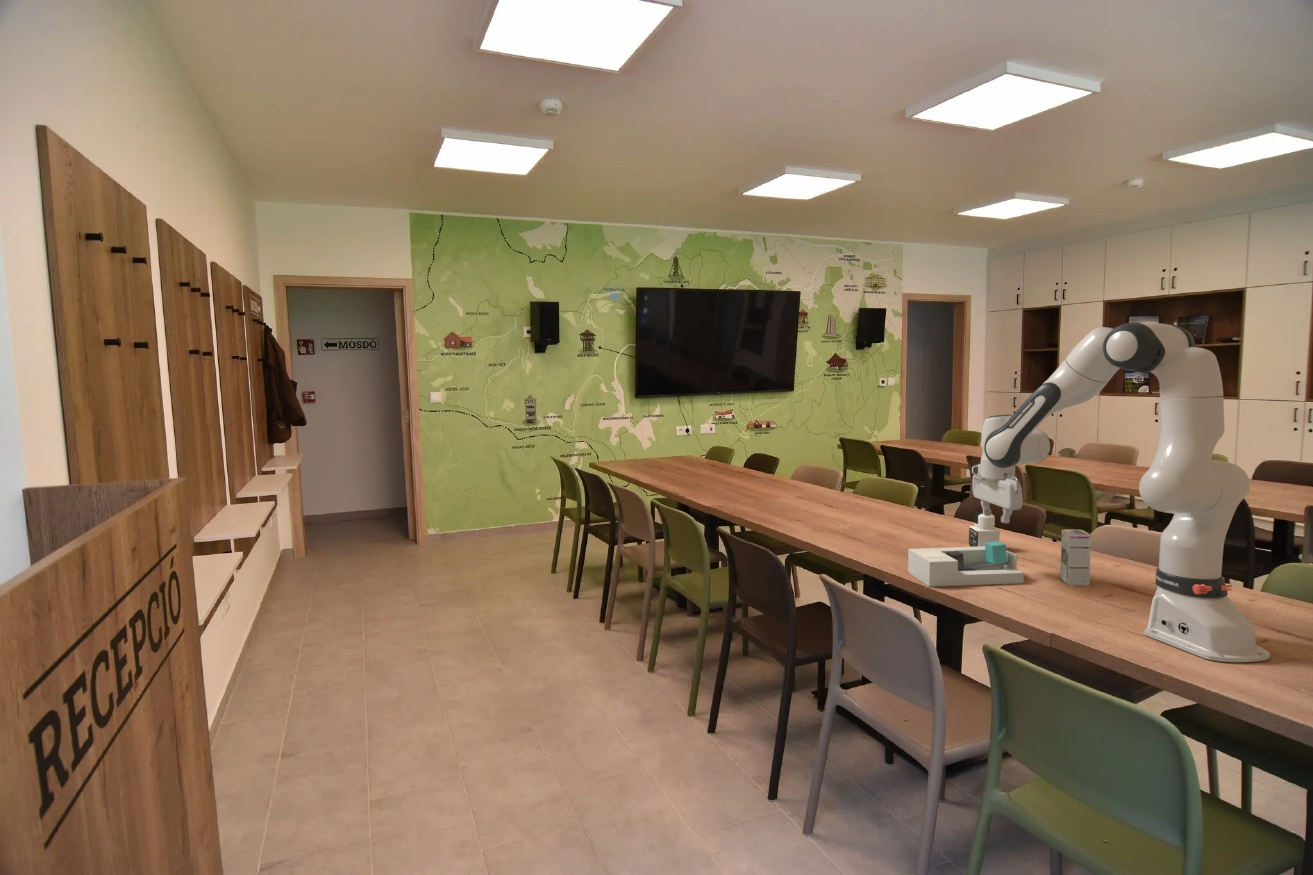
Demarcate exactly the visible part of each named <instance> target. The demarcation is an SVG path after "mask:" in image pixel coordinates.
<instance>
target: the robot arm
mask: <svg viewBox="0 0 1313 875" xmlns="http://www.w3.org/2000/svg"><path fill="white" fill-rule="evenodd" d="M1195 344H1196V343H1195V338H1194V337H1193V335H1192V334H1191V333H1190V331H1188V330H1187V329H1185V328H1184V327H1182V326H1179V325H1176V324H1171V323H1168V324H1167V323H1159V322H1157V321H1140V322H1137V321H1136V322H1135V321H1134V322H1127V323H1123V324H1120V325H1118V326H1116V327H1114V328H1112V327H1107V326H1106V327H1105V326H1104V327H1103V326H1099V327H1096V328H1094V329H1092V330H1090V332H1088V333H1087V334H1086V335H1085V336H1084V337H1083V338H1082V339H1081V340H1080V341H1079V342H1078V343H1077V344H1076V345H1075V346H1074V347H1073V348H1072V350H1071V351H1069V353H1068V355H1066V357H1065V358H1064V360H1063V361H1062V362H1061V363H1060V364H1059V366H1058V367H1057V368H1056V369H1055V371H1053V373H1052V374H1051V375H1050V376H1049V378H1047V380H1045V381H1044V382H1043V383H1042V384H1041V385H1040V386H1039V387H1038V388H1036V390H1035V391H1033V392H1032V393H1031V394H1030V395H1029V397H1028V398H1026V400H1025V401H1023V403H1022V404H1021V405H1020V406H1019V408H1017V410H1016V411H1015V412H1014V413H1013V414H1001V415H1000V414H999V415H991V416H988V417H987V418H985V419H984V421H983V424H982V430H981V437H980V438H981V441H980V442H981V443H980V446H981V450H982V451H981V452H982V454H981V457H980V463H979V464H975V465H973V466H972V467H971V473H972V474H973V475H972V488H971V489H972V495H973V497H974V498H976V499H978V500H980V505H981V507H982V513H983V515H985V516H991V514H992V512H993V511H992V509H991V507H990V504H992V505H995V506H998V507H1000V508H1002V513H1003V514H1002V515H1001V516H1000V522H1001V523H1003V524H1009V523H1011V519H1010V518H1011V517H1012V515H1013V511H1018V510H1021V509H1022V507H1023V488H1022V485H1021V483H1020V481H1019V479H1018V478H1017V476H1016V474H1015V473H1016V466H1022V465H1029V464H1037V463H1039V462H1042V461H1044V460H1045V459H1047V458H1048V456H1049V454H1050V451H1051V447H1052V446H1051V440H1050V438H1049V436H1048V434H1047V433H1045V431H1043V430H1041V429H1039V428H1038V426H1039V425H1041V424H1042V422H1044V420H1045V419H1046V418H1048V417H1049V416H1051V415H1053V414H1054V413H1056V412H1059V411H1061V410H1064V409H1067V408H1071V407H1073V406H1076V405H1080V404H1083V403H1086V402H1089V401H1090V400H1091V399H1093V398H1094V397H1095V396H1096V395H1098V394H1099V393H1100V392H1101V391H1102V390H1103V389H1104V388H1105V387H1106V385H1107V384H1108V383H1109V382H1110V380H1111V379H1112V378H1113V376H1115V374H1116V373H1117V372H1118V371H1119V370H1120V369H1122V370H1125V371H1131V372H1136V373H1141V374H1148V373H1151V374H1153V375H1154V376H1155V377H1156V378H1157V380H1158V384H1159V403H1160V404H1159V408H1160V410H1159V411H1160V415H1159V416H1160V434H1159V440H1158V445H1157V448H1156V452H1155V454H1154V458H1153V461H1152V463H1151V465H1150V467H1149V468H1148V469H1147V471H1145V473H1144V474H1143V475H1142V477H1140V478H1141V479H1140V481H1139V483H1138V490H1139V491H1138V493H1139V494H1140V497H1141V500H1142V501H1143V502H1144V503H1145V505H1147V507H1148V508H1150V509H1152V510H1155V511H1157V512H1160V513H1161V512H1162V513H1166V514H1167V513H1168V514H1173V517H1172V518H1171V520H1170V522H1169V524H1168V525H1167V526H1166V528H1165V529H1163V531H1162V533H1161V535H1160V538H1159V540H1160V542H1159V554H1158V556H1159V558H1158V560H1159V561H1158V567H1157V568H1156V569H1155V570H1156V571H1155V574H1154V575H1155V576H1154V577H1155V583H1154V584H1156V591H1155V593H1154V596H1153V597H1152V601H1151V605H1150V613H1149V616H1148V621H1147V625H1146V627H1145V628H1144V629H1143V634H1144V635H1145V636H1146V637H1149V638H1151V639H1154V640H1157V641H1160V642H1162V643H1164V644H1167V645H1170V646H1172V647H1175V648H1177V649H1180V650H1183V651H1185V652H1187V653H1189V654H1192V655H1195V656H1198V657H1200V658H1202V659H1206V660H1208V661H1209V660H1210V661H1213V662H1214V661H1216V662H1224V663H1255V662H1262V661H1267V660H1269V659H1271V652H1269V650H1267V649H1265V648H1263V647H1261V646H1259V645H1257V642H1256V641H1257V640H1256V639H1257V638H1256V636H1257V635H1256V631H1255V627H1254V625H1253V623H1252V622H1251V621H1250V620H1249V618H1248V617H1247V616H1245V615H1244V614H1243V613H1242V612H1241V610H1240V609H1239V608H1238V607H1237V606H1236V605H1235V603H1234V602H1233V601H1232V600H1231V598H1230V597H1229V596H1228V595H1229V593H1228V591H1232V590H1233V589H1232V587H1233V585H1232V584H1226V582H1225V578H1224V576H1223V575H1222V567H1223V557H1224V556H1223V555H1224V544H1225V542H1226V541H1225V540H1226V536H1227V533H1228V530H1229V527H1230V525H1231V522H1232V519H1233V517H1234V515H1235V513H1236V510H1237V508H1238V506H1239V505H1240V503H1241V502H1242V501H1243V500H1244V499H1245V498H1246V497H1247V496H1248V494H1249V491H1250V488H1251V482H1250V478H1249V475H1248V474H1247V472H1246V471H1245V470H1244V469H1243V468H1242V467H1240V466H1239V465H1237V464H1235V463H1232V462H1229V461H1224V460H1218V459H1212V458H1213V453H1214V451H1215V447H1216V445H1217V444H1218V442H1219V441H1220V439H1222V437H1223V436H1224V433H1225V408H1224V407H1225V406H1224V405H1225V404H1224V386H1223V380H1222V375H1221V370H1220V366H1219V362H1218V359H1217V356H1216V355H1215V353H1213V351H1211V350H1209V349H1206V348H1203V347H1198V346H1195Z"/></svg>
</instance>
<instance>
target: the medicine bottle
mask: <svg viewBox="0 0 1313 875" xmlns="http://www.w3.org/2000/svg"><path fill="white" fill-rule="evenodd" d="M995 517H996V516H995V515H994V514H993V513H991V516H985V515H983V512H977V513H975V514H974V521H973V522H974V523H973V524H974V525H969V527H968V547H981V546H985V543H986V542H994V541H999V542H1000V536H1001V535H1000V534H1001V533H1000V530H999V529H997V528H995V525H996V524H995V521H996V520H995V519H996V518H995Z"/></svg>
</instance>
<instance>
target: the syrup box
mask: <svg viewBox="0 0 1313 875" xmlns="http://www.w3.org/2000/svg"><path fill="white" fill-rule="evenodd" d="M1091 537H1092V534H1090V533H1088V532H1087V531H1085V530H1083V529H1073V528H1071V529H1062V530H1061V541H1060V542H1061V544H1060V549H1061V550H1060V580H1062V581H1063V582H1064V583H1065V584H1066V585H1067V586H1078V587H1079V586H1080V587H1081V586H1082V587H1083V586H1084V587H1089V586H1090V582H1091V578H1090V576H1091V545H1092V544H1091V540H1092V539H1091Z"/></svg>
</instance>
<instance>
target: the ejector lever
mask: <svg viewBox="0 0 1313 875" xmlns="http://www.w3.org/2000/svg"><path fill="white" fill-rule="evenodd" d="M947 555H948V556H950V557H952V558H953V559H955V560H957V561H958V571H965V570H972V569H979V568H987V567H994V566H1002V565H1009V562H1008V561H1007V562H1004V563H997V564H993V563H991V562H989V561H981V562H973V563H966V564H964V561H963V554H962V553H961V552H959V551H953V552H947Z"/></svg>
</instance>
